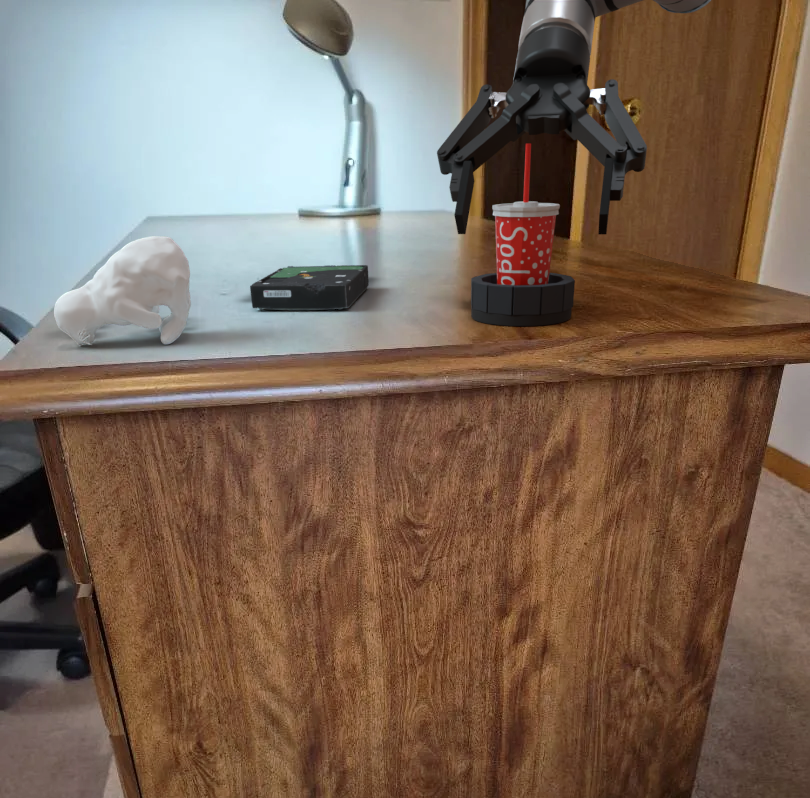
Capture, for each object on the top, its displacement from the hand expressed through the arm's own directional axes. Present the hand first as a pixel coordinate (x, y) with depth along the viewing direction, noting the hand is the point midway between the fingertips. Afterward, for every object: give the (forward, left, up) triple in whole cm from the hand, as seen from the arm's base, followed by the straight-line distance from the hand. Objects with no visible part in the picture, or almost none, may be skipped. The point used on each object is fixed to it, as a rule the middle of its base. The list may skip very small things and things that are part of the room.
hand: (529, 225), depth 75 cm
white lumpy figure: (+8, +37, -8) cm, 39 cm away
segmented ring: (-2, +2, -8) cm, 9 cm away
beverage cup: (-2, +2, -7) cm, 8 cm away
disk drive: (+19, +15, -8) cm, 26 cm away
